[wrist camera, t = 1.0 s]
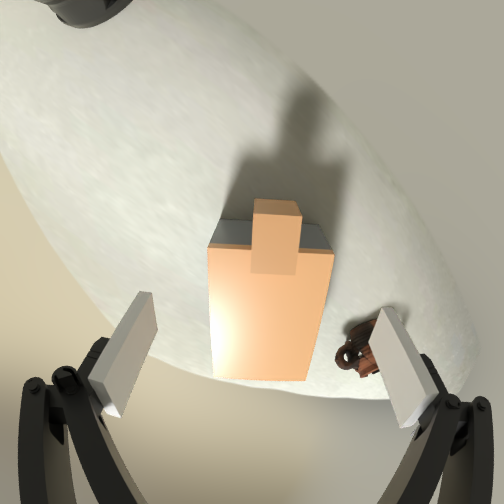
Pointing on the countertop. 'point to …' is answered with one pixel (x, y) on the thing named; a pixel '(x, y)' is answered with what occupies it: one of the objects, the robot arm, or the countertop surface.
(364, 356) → the brown jagged ring
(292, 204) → the lid
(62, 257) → the countertop surface
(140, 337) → the robot arm
